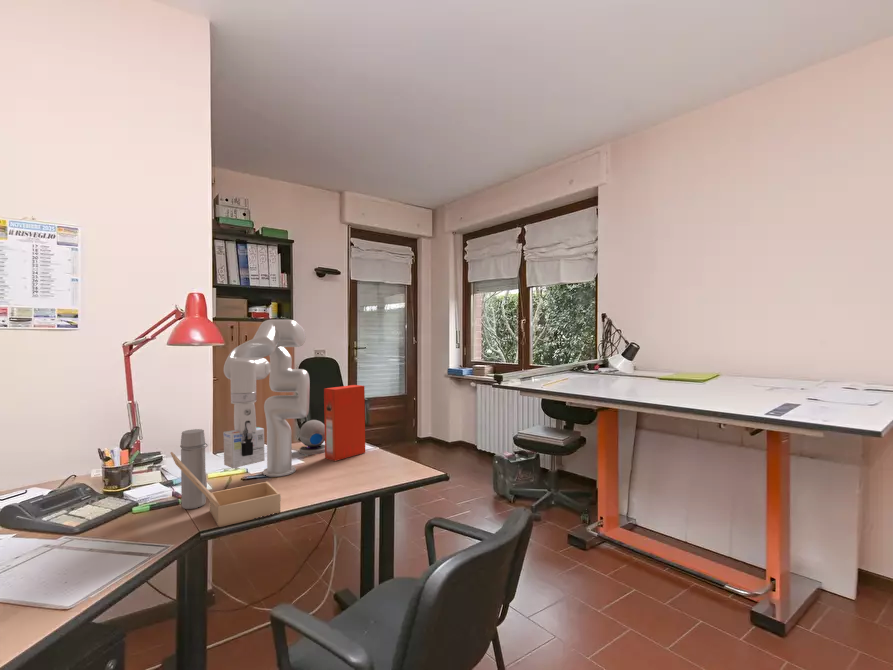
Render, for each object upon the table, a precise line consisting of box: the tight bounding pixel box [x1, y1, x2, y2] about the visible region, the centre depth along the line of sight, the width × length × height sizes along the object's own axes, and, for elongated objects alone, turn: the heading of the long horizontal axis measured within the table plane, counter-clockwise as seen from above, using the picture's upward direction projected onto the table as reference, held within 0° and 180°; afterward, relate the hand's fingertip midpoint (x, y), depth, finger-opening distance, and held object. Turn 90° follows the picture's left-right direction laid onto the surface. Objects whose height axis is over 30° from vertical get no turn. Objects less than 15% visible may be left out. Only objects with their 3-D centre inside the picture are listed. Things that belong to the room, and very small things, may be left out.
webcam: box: [298, 419, 325, 455], centre depth 219 cm, size 13×13×15 cm
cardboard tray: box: [209, 481, 282, 528], centre depth 145 cm, size 15×18×6 cm
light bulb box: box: [222, 426, 266, 469], centre depth 145 cm, size 11×7×11 cm, turn 141°
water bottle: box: [180, 428, 208, 510], centre depth 150 cm, size 9×8×25 cm
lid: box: [170, 451, 218, 507], centre depth 137 cm, size 15×18×1 cm
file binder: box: [323, 384, 366, 462], centre depth 210 cm, size 8×17×32 cm, turn 141°
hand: (244, 452), depth 145 cm, fingers closed on light bulb box, 7 cm apart
